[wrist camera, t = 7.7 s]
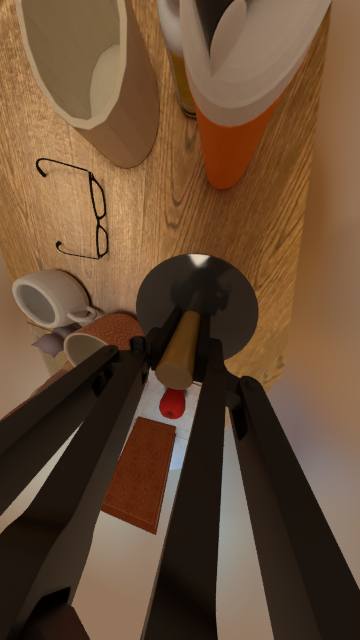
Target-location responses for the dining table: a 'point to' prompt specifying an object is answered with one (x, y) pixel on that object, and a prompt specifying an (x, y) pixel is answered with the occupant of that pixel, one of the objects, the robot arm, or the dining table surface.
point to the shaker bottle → (242, 71)
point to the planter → (101, 336)
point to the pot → (94, 72)
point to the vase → (46, 384)
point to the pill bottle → (175, 52)
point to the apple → (172, 404)
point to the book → (141, 475)
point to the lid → (196, 311)
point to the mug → (52, 298)
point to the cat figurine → (56, 339)
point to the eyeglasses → (92, 203)
